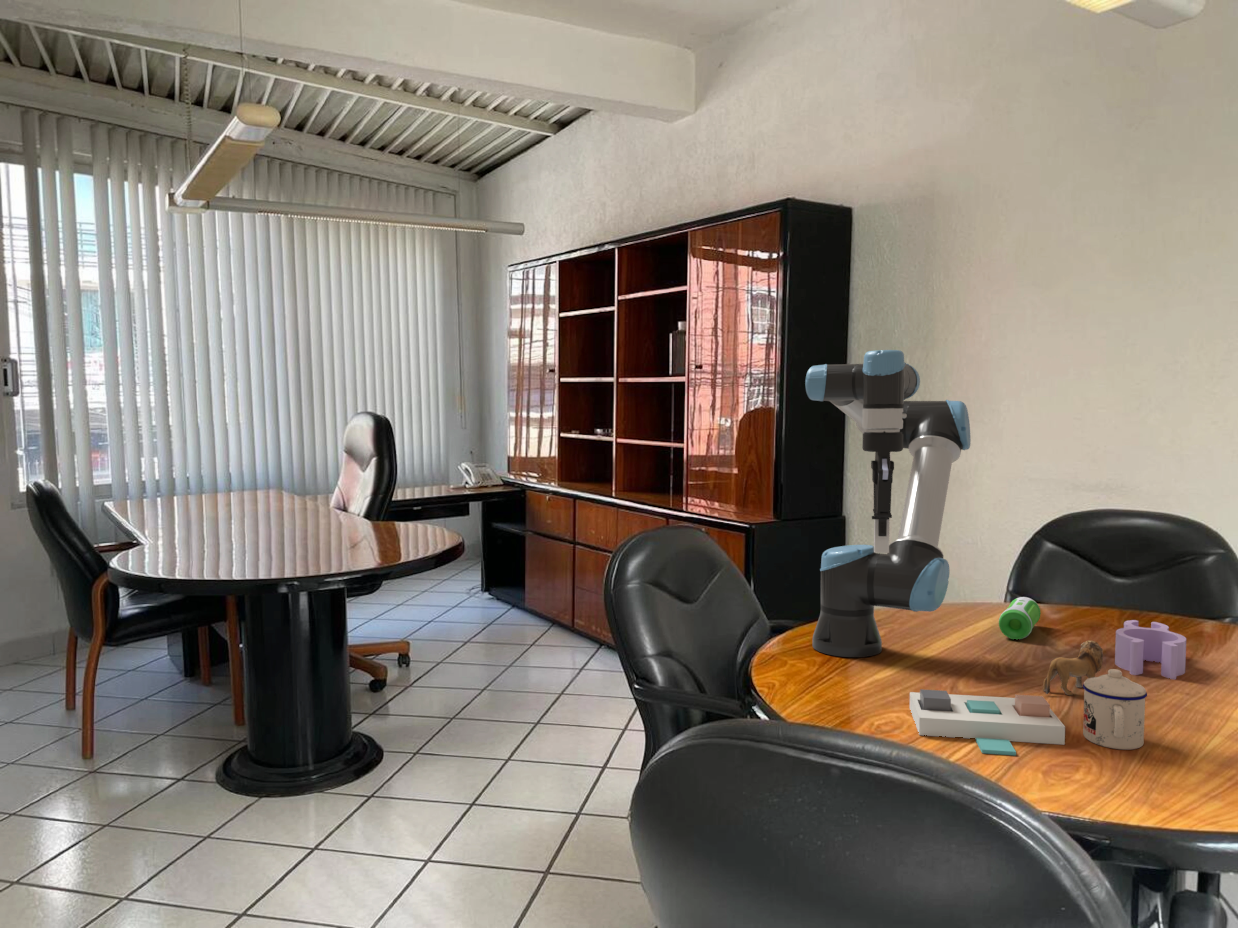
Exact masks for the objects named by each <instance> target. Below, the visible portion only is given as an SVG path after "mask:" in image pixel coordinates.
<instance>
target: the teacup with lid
mask: <svg viewBox="0 0 1238 928" xmlns="http://www.w3.org/2000/svg"><path fill="white" fill-rule="evenodd" d="M1082 686H1083V687H1082V688H1083V689H1084V692H1083V693H1084V694H1083V720H1082V721H1083V724H1082V725H1083V726H1082V728H1083V729H1082V734H1083V737H1084V738H1085V739H1086V740H1088V741H1089V742H1090V743H1092V744H1095V745H1097V746H1101V747H1104V748H1109V749H1112V750H1113V749H1114V750H1126V751H1127V750H1136V749H1139V748H1141V747H1142V746H1143V745H1144V742H1145V716H1146V715H1145V714H1146V713H1145V712H1146V711H1145V710H1146V698H1147V697H1148V693H1147V690H1146V688H1145V687H1144V686H1143V685H1141V684H1140V683H1137V682H1135V681H1132V680H1131V679H1129V678H1128V677H1126V676H1123V672H1122V671H1121V670H1120V669H1116V668H1110V669H1108V670H1107V673H1105V674H1102V675H1099V676H1095V677H1093V678H1089V679H1088V678H1087V679H1086V680H1084V681H1083V684H1082Z"/></svg>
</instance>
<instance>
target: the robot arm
mask: <svg viewBox="0 0 1238 928" xmlns="http://www.w3.org/2000/svg"><path fill="white" fill-rule="evenodd" d="M804 384H805V392H806V395H807V397H808V399H809V400H811V401H818V402H824V401H825V402H830V403H831V404H832V405H834V407H836V408H838V409H839V411H841V412H842V413H844V414H845V415H847V417H848V418H850V419H852V420H853V421H854V422H855V425H856V427H857V429H858V430H859V432H861V433H862V450H863V451H864V452H869V453H874V460H871V461H870V465H871V466H870V469H871V470H872V473H871V476H872V477H871V478H872V479H871V480H872V482H873V509H872V512H873V515H871V520H873V522H874V523H873V545H871V544H870V545H869V544H851V545H842V546H834V547H831V548H828V549H826V550H824V551H823V552H822V554H821V561H820V562H821V563H820V568H819V571H820V613H819V616H818V620H817V622H816V626H815V628H814V631H813V634H812V648H813V650H815V651H817V652H819V653H822V654H825V655H826V654H827V655H829V656H834V657H840V658H841V657H843V658H867V657H871V656H876V655H879V654H880V653H881V652H882V647H883V646H882V642H883V641H882V637H881V634H880V632H879V628H878V625H877V621H876V619H875V607H880V608H881V607H882V608H890V609H897V610H898V609H899V610H906V611H912V612H928V613H929V612H935V611H936V610H938V609H939V608H940V607H941V606H942V604H943V602H944V599H945V597H946V594H947V590H948V586H949V578H950V565H949V562H948V560H947V559H945V558H944V552H943V551H942V550H941V548H939V546H938V545H939V541H940V537H941V536H940V535H941V530H942V524H943V523H942V522H943V517H944V513H945V506H946V500H947V494H948V488H949V483H950V482H949V481H950V477H951V471H952V465H953V463H955V462H957V460H959V459H960V457H961V452H962V451H966V450H969V449H970V447H971V441H972V440H971V427H970V417H969V411H968V407H967V405H966V404H965V403H964V402H963V401H961V400H949V399H945V400H908V399H909V398H911V397H913V396H914V395H915V394H916V393H917V392H918V390H919V388H920V386H921V385H920V384H921V377H920V374H919V371H918V370H917V369H916V368H915V367H914V366H912V365H910V364H909V363H906V362H905V353H904V352H903V351H902V350H900V349H882V350H881V349H878V350H877V349H876V350H868V351H866V352H865V354H864V355H863V362H862V363H851V364H850V363H845V364H842V363H841V364H838V363H837V364H836V363H835V364H827V363H825V364H818V365H812V366H811V367H809V369H808V370H807V372H806V376H805V383H804ZM904 449H908V451H909V453H910V455H911V456H912V457H913V459H912V464H911V469H910V474H909V480H908V484H907V488H906V493H905V494H906V495H905V499H904V504H903V508H902V509H903V510H902V515H901V520H900V525H899V530H898V535H897V538H896V540H893V541H891V542H890V519H891V518H893V514H892V513H891V511H892V510H891V509H892V507H891V506H892V487H893V485H892V484H893V475H894V470H895V462H894V461H893V460H891V452H892V453H898V452H901V451H903V450H904Z"/></svg>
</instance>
